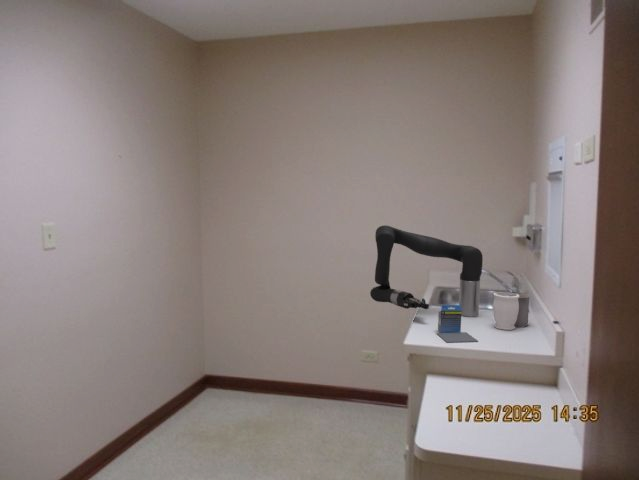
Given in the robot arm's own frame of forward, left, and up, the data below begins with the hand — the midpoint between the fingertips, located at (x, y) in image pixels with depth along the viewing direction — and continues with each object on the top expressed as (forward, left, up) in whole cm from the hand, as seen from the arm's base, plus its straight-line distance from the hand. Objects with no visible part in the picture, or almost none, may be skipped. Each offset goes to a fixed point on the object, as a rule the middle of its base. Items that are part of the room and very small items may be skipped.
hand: (427, 306), depth 212 cm
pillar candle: (+4, +40, -8) cm, 41 cm away
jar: (+8, +33, -8) cm, 35 cm away
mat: (+20, +6, -8) cm, 22 cm away
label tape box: (+12, +6, -8) cm, 16 cm away
